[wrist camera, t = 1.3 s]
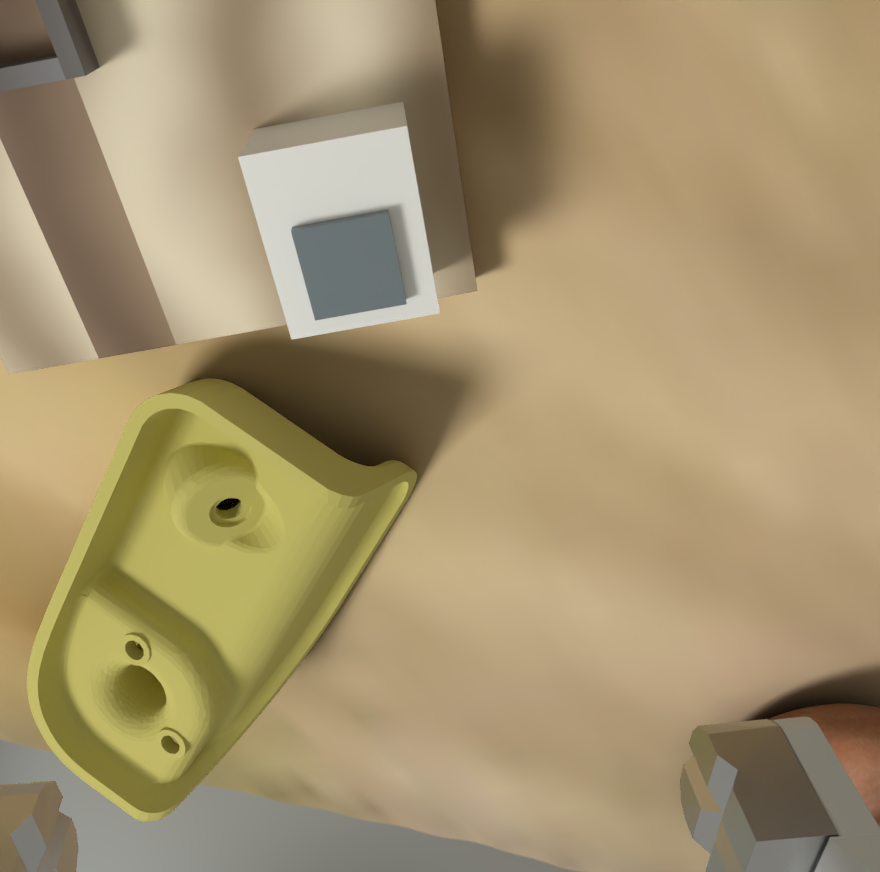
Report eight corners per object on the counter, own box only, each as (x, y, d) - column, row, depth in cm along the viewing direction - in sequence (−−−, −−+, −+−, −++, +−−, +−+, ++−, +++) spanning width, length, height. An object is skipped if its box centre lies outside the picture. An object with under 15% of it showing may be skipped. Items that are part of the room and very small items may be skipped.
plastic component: (151, 367, 30) (373, 521, 29) (251, 335, 37) (433, 459, 36) (-1, 717, 37) (171, 847, 36) (105, 637, 44) (253, 745, 43)
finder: (252, 129, 26) (235, 160, 23) (403, 101, 26) (407, 128, 23) (299, 297, 30) (290, 345, 26) (433, 273, 30) (440, 318, 26)
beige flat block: (395, -260, 22) (397, -279, 20) (474, 278, 31) (481, 307, 29) (-232, -134, 23) (-297, -139, 21) (20, 359, 32) (-7, 394, 29)
